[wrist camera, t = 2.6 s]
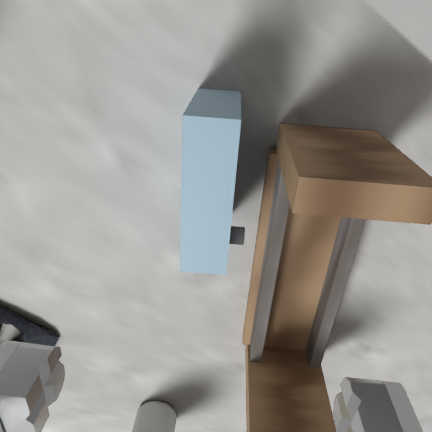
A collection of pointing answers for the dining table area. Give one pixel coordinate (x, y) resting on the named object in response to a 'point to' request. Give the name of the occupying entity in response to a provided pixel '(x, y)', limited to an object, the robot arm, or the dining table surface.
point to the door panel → (209, 180)
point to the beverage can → (155, 418)
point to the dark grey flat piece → (27, 329)
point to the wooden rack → (314, 260)
